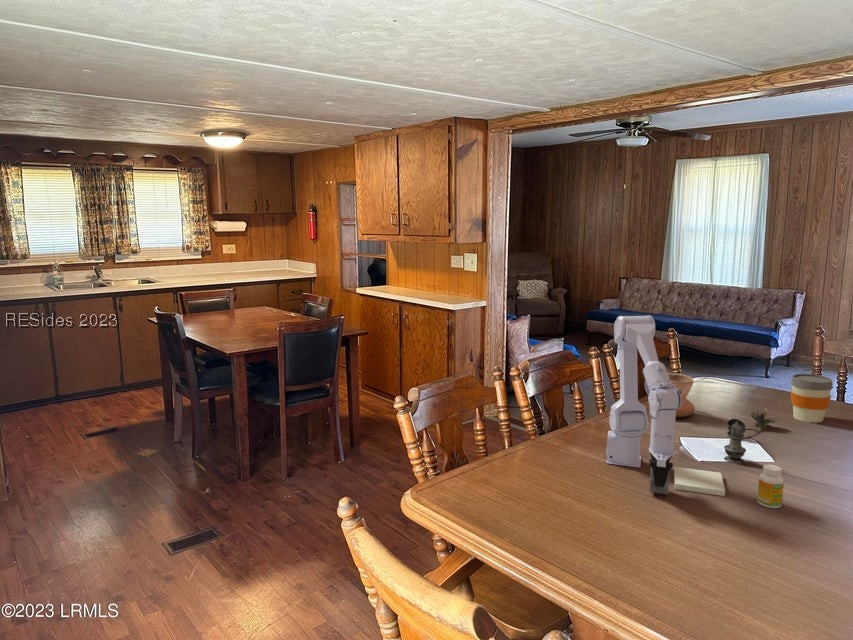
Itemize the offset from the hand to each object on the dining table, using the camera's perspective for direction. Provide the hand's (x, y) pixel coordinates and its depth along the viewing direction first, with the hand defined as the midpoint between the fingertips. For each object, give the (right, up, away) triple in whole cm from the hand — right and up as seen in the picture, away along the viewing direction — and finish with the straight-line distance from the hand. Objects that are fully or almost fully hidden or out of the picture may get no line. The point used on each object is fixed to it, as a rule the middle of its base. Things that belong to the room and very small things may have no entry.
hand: (659, 482), depth 157 cm
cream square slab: (+13, -2, +6) cm, 15 cm away
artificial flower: (+49, +5, +46) cm, 67 cm away
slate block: (0, -2, 0) cm, 2 cm away
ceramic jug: (+30, +8, +64) cm, 71 cm away
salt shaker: (+31, +1, +22) cm, 38 cm away
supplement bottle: (+25, -4, -6) cm, 26 cm away
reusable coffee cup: (+76, +7, +58) cm, 95 cm away
